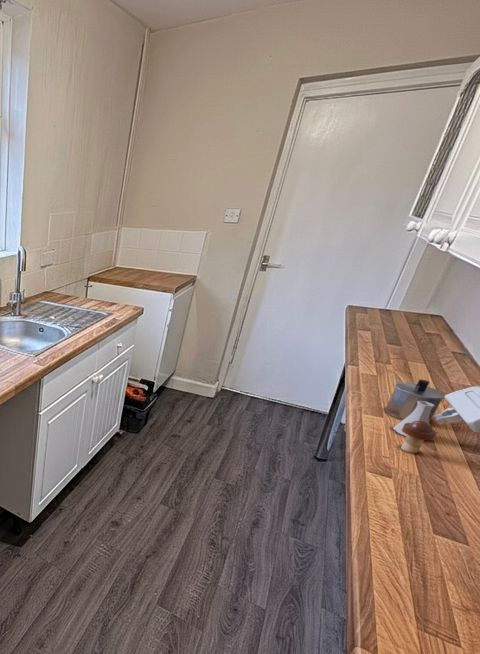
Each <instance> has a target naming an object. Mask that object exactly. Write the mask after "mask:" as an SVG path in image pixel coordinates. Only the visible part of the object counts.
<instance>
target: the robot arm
mask: <svg viewBox="0 0 480 654" xmlns="http://www.w3.org/2000/svg"><path fill="white" fill-rule="evenodd" d="M445 395H446V396H445V398H444V400H446V401H447V402H448V404H449V405H450V406H451V407H448V408H445V410H443V411H441V412H440V413H437V414H434V416H433V418H432V419H434V421H435V422H436V423H437V425H438V426H443V425H446V424H454V423H455V424H456V423H461V422H464V423H465V424H466V425H467V426H468V427H469V428H470V430H471V431H472V432H473V433H475V434H480V385H476V386H470V387H467V388H463V389H459V390H456V391H452V392H449V393H447V394H445Z"/></svg>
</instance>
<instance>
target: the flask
mask: <svg viewBox="0 0 480 654" xmlns="http://www.w3.org/2000/svg"><path fill="white" fill-rule="evenodd" d="M417 403H418V405H417V407H416V409H415V410H414V411H413V412H412V413H411V414H410V415H409V416H408V417H406V418H405V419H404V420H401V421H400V422H399V423H397V424H396V425H395V426H393V428H392V429H393V430H395V432H397V434H400V435H402V436H405V437H406V436H407V434H405V433H404V432H402V428H403V426H404V424H405V423H412V422H414V421H424V422H427V423H428V424H430V422H429V415H430V411H431V409H432V407H434V406H435V405H433V404H432V403H429V402H426V401H418V402H417Z"/></svg>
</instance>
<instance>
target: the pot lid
mask: <svg viewBox="0 0 480 654" xmlns="http://www.w3.org/2000/svg"><path fill="white" fill-rule="evenodd" d="M429 384H430V381H429V380H426V379H418V381H417V383H412V382H396V383H395V384H394V388H395V387H396V388H397V389H398V390H400V391H402V392H405V393H407V394H410V395H414V396H418V397H422V398H428V399H442V400H443V399H444V400H445V396H446V395H447V394H446V393H444V392H442V391H440V390H438V389H436V388H434V387H430V386H429Z"/></svg>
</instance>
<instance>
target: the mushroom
mask: <svg viewBox="0 0 480 654" xmlns="http://www.w3.org/2000/svg"><path fill="white" fill-rule="evenodd" d="M402 432H404V433H405V434H407V436H405V438H404V440H403V442H402V445H401V447H400V449H401V450H402V451H404V452H407V453H409V454H418V452H419V451H420V449H421V447H422V445H423V443H424V442H425V441H433V440H434V439H435V437H436V435H437V431H436V430H435V429H433V426H432V425H431V424H430V423H429V424H428V423H427V422H424V421H414V422H412V423H405V424H404V426H403V428H402Z"/></svg>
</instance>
